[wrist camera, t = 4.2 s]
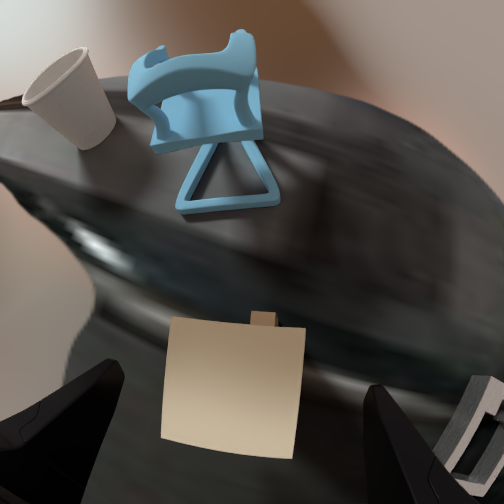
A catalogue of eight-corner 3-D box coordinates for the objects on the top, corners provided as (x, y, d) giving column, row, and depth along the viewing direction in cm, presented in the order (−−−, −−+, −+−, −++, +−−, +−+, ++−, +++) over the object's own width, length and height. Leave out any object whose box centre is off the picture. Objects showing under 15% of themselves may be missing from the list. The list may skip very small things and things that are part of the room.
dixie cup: (133, 128, 26) (90, 58, 16) (71, 172, 25) (16, 117, 16) (118, 96, 28) (84, 39, 19) (66, 134, 28) (24, 85, 18)
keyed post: (290, 393, 16) (291, 458, 6) (234, 388, 16) (161, 437, 6) (296, 321, 17) (308, 280, 7) (241, 317, 18) (177, 273, 8)
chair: (273, 125, 23) (258, 2, 12) (281, 206, 20) (267, 61, 9) (188, 136, 24) (140, 27, 13) (178, 216, 21) (95, 100, 10)
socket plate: (468, 487, 10) (483, 496, 8) (415, 474, 12) (429, 486, 10) (516, 399, 12) (534, 401, 10) (472, 375, 14) (491, 376, 12)
